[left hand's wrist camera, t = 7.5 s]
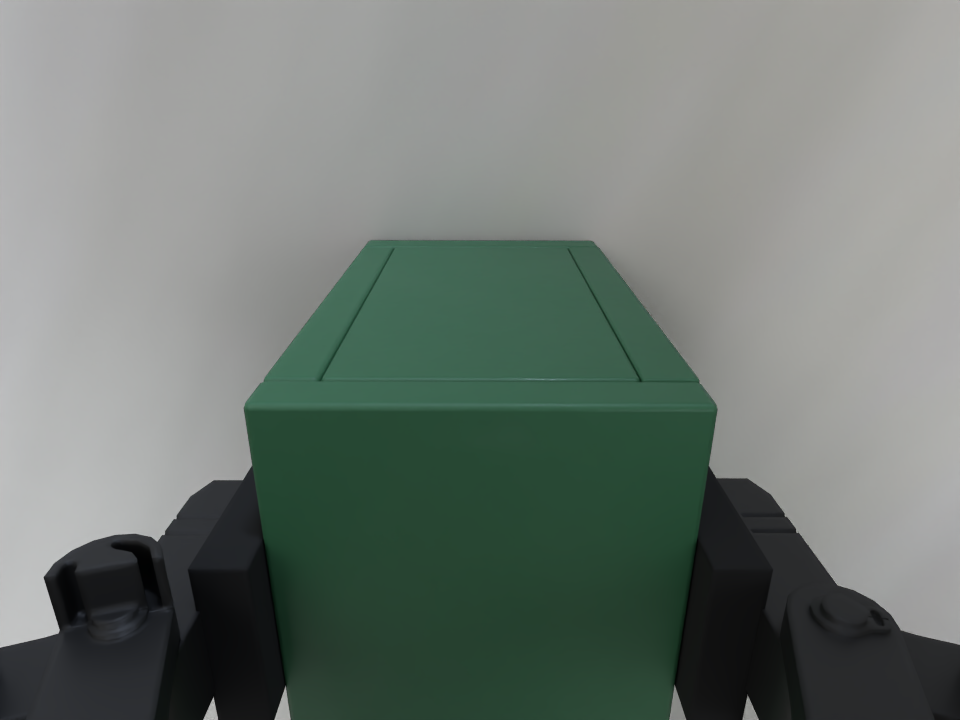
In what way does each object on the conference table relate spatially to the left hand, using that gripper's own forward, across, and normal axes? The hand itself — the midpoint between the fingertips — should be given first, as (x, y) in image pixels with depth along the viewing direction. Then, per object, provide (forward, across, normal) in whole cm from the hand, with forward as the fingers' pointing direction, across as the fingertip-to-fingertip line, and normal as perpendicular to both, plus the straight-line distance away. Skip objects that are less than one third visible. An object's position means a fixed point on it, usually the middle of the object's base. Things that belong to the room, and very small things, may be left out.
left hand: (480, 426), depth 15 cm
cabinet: (+4, 0, -6) cm, 7 cm away
